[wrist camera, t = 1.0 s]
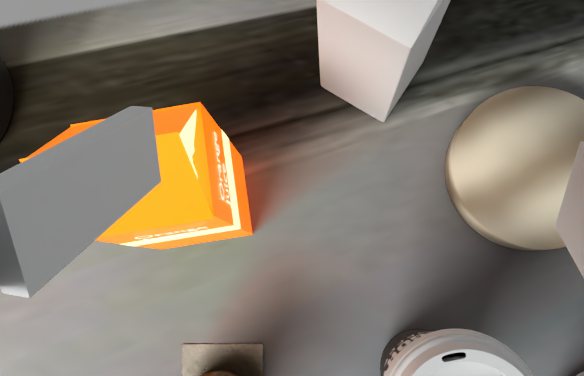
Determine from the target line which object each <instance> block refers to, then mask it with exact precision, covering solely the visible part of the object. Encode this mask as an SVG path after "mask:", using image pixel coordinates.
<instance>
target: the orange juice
mask: <svg viewBox="0 0 584 376" xmlns="http://www.w3.org/2000/svg"><path fill="white" fill-rule="evenodd" d="M152 111H153V119H154V127H155V135H156V143H157V151H158V159H159V167H160V175H161V183H159V184H158V185H157V186H156V187H155V188H154V189H153V190H151V191H150V192H149V193H148V194H147V195H146V196H145V197H144V198H142V199H141V200H140V201H139V202H138V203H137V204H136V205H135V206H133V207H132V208H131V209H130V210H129V211H128V212H127V213H125V214H124V215H123V216H122V217H121V218H120V219H119V220H118V221H116V222H115V223H114V224H113V225H112V226H111V227H110V228H108V229H107V230H106V231H105V232H104V233H103V234H102V235H101V236H99V237H98V238H97V239H96V240H95V241H103V242H110V243H118V244H120V245H128V246H140V247H148V248H155V249H166V248H172V247H179V246H185V245H191V244H197V243H203V242H209V241H216V240H222V239H228V238H234V237H240V236H247V235H252V227H251V220H250V213H249V205H248V198H247V191H246V184H245V176H244V169H243V162H242V156H241V155H240V154H239V152H238V151H237V150H236V149H235V147H234V146H233V145H232V143H231V142H230V141H229V138H228V137H227V136H226V134H225V133H224V132H223V130H222V129H220V127H219V126H218V125H217V124H216V122H215V121H214V120H213V118H212V117H211V116H210V114H209V113H208V112H207V110H206V109H205V108H204V106H203V105H202V104H201V103H200V102H197V103H192V104H186V105H180V106H175V107H169V108H163V109H158V110H152ZM103 120H105V119H101V120H96V121H90V122H84V123H79V124H73V125H71V127H70V128H69V129H67V130H66V131H64V132H63V133H62V134H60V135H59V136H57V137H56V138H54V139H53V140H51V141H50V142H49V143H47V144H46V145H44V146H43V147H41V148H40V149H39V150H37V151H36V152H34V153H33V154H31V155H30V156H28V157H27V158H24V159H19V161H20V162H21V163H22V162H24V161H25V160H27V159H29V158H31V157H33V156H35V155H37V154H39V153H41V152H43V151H45V150H47V149H49V148H51V147H53V146H55V145H57V144H58V143H60V142H62V141H64V140H66V139H68V138H70V137H72V136H74V135H76V134H78V133H80V132H82V131H84V130H86V129H88V128H89V127H91V126H93V125H95V124H97V123H99V122H101V121H103Z"/></svg>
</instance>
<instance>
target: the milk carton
mask: <svg viewBox="0 0 584 376" xmlns="http://www.w3.org/2000/svg"><path fill="white" fill-rule="evenodd" d="M316 2H317V23H318V44H319V65H320V84H321V86H322V87H323V88H325V89H326V90H328V91H330V92H331V93H333V94H335V95H336V96H338V97H340V98H342V99H343V100H345V101H347V102H348V103H350V104H352V105H353V106H355V107H357V108H359V109H360V110H362V111H364V112H365V113H367V114H369V115H371V116H372V117H374V118H376V119H377V120H379V121H381V122H385V120H386V119H387V117H388V116H389V114H390V112H391V111H392V109H393V108H394V106H395V105H396V103H397V102H398V100H399V99H400V97H401V95H402V94H403V92H404V91H405V89H406V88H407V86H408V85H409V83H410V82H411V80H412V78H413V77H414V75H415V74H416V72H417V71H418V69H419V68H420V66H421V65H422V63H423V61H424V59H425V56H426V54H427V52H428V50H429V48H430V45H431V43H432V41H433V39H434V36H435V34H436V32H437V30H438V27H439V25H440V23H441V21H442V18H443V16H444V14H445V12H446V9H447V7H448V5H449V3H450V0H316Z"/></svg>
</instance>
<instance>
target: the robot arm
mask: <svg viewBox="0 0 584 376" xmlns="http://www.w3.org/2000/svg"><path fill="white" fill-rule="evenodd" d="M13 103H14V90H13V84H12V80H11V76H10V74H9V71H8V69H7V67H6V66H5V64H4V62H3V61H2V60H1V58H0V140H1V138H2V137H3V135H4V133H5V131H6V129H7V127H8V124H9V122H10V119H11V115H12V110H13ZM159 183H161V175H160V167H159V159H158V151H157V143H156V135H155V127H154V119H153V111H152V107H139V106H130V107H128V108H126V109H124V110H122V111H121V112H119V113H117V114H115V115H113V116H111V117H109V118H107V119H105V120H103V121H101V122H99V123H97V124H95V125H93V126H91V127H89V128H88V129H86V130H84V131H82V132H80V133H78V134H76V135H74V136H72V137H70V138H68V139H66V140H64V141H62V142H60V143H58V144H57V145H55V146H53V147H51V148H49V149H47V150H45V151H43V152H41V153H39V154H37V155H35V156H33V157H31V158H29V159H27V160H25V161H24V162H22V163H20V164H18V165H16V166H14V167H12V168H10V169H8V170H6V171H4V172H2V173H0V288H1V291H2V293H4V294H10V295H15V296H21V297H27V298H30V297H32V296H33V295H34V294H35V293H36V292H37V291H38V290H39V289H41V288H42V287H43V286H44V285H45V284H46V283H47V282H49V281H50V280H51V279H52V278H53V277H54V276H55V275H56V274H58V273H59V272H60V271H61V270H62V269H63V268H64V267H66V266H67V265H68V264H69V263H70V262H71V261H72V260H73V259H75V258H76V257H77V256H78V255H79V254H80V253H81V252H82V251H84V250H85V249H86V248H87V247H88V246H89V245H90V244H92V243H93V242H94V241H95V240H96V239H97V238H98V237H99V236H101V235H102V234H103V233H104V232H105V231H106V230H107V229H108V228H110V227H111V226H112V225H113V224H114V223H115V222H116V221H118V220H119V219H120V218H121V217H122V216H123V215H124V214H125V213H127V212H128V211H129V210H130V209H131V208H132V207H133V206H135V205H136V204H137V203H138V202H139V201H140V200H141V199H142V198H144V197H145V196H146V195H147V194H148V193H149V192H150V191H151V190H153V189H154V188H155V187H156V186H157V185H158V184H159ZM555 227H556V229H557V231H558V233H559V234H560V236H561V238H562V240H563V242H564V243H565V245H566V247H567V249H568V251H569V252H570V254H571V256H572V258H573V260H574V262H575V263H576V265H577V267H578V269H579V271H580V272H581V274H582V276H583V278H584V142H582V141H580V144H579V148H578V151H577V154H576V158H575V161H574V164H573V168H572V171H571V174H570V178H569V181H568V184H567V188H566V191H565V194H564V197H563V201H562V204H561V207H560V211H559V214H558V217H557V221H556V224H555Z"/></svg>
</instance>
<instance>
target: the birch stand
mask: <svg viewBox="0 0 584 376" xmlns="http://www.w3.org/2000/svg"><path fill="white" fill-rule="evenodd" d="M580 141H582V142H584V100H583V99H581V98H579V97H577V96H575V95H573V94H571V93H568V92H566V91H563V90H559V89H556V88H550V87H545V86H524V87H518V88H512V89H509V90H506V91H503V92H500V93H498V94H496V95H494V96H492V97H490V98H489V99H487V100H486V101H484V102H483V103H481V104H480V105H479V106H478V107H477V108H476V109H475V110H474V111H473V112H472V113H471V114H470V115H469V116H468V117H467V118H466V120H465V121H464V122H463V123H462V124H461V125H460V126H459V128H458V129H457V131H456V132H455V134H454V135H453V137H452V139H451V141H450V143H449V146H448V149H447V152H446V158H445V170H444V173H445V182H446V186H447V190H448V193H449V196H450V198H451V201H452V203H453V205H454V207H455V208H456V210H457V212H458V213H459V214H460V216H461V217H462V218H463V220H464V221H465V222H466V223H467V224H468V225H469V226H470V227H471V228H472V229H474V230H475V231H476V232H477V233H478V234H480V235H481V236H483V237H485V238H486V239H488V240H490V241H492V242H494V243H496V244H498V245H501V246H504V247H507V248H512V249H516V250H525V251H536V250H548V249H557V248H563V247H566V245H565V243H564V242H563V240H562V238H561V236H560V234H559V233H558V231H557V229H556V227H555V224H556V221H557V217H558V214H559V211H560V207H561V204H562V201H563V197H564V194H565V191H566V188H567V184H568V181H569V178H570V174H571V171H572V168H573V164H574V161H575V158H576V154H577V151H578V148H579V144H580Z"/></svg>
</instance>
